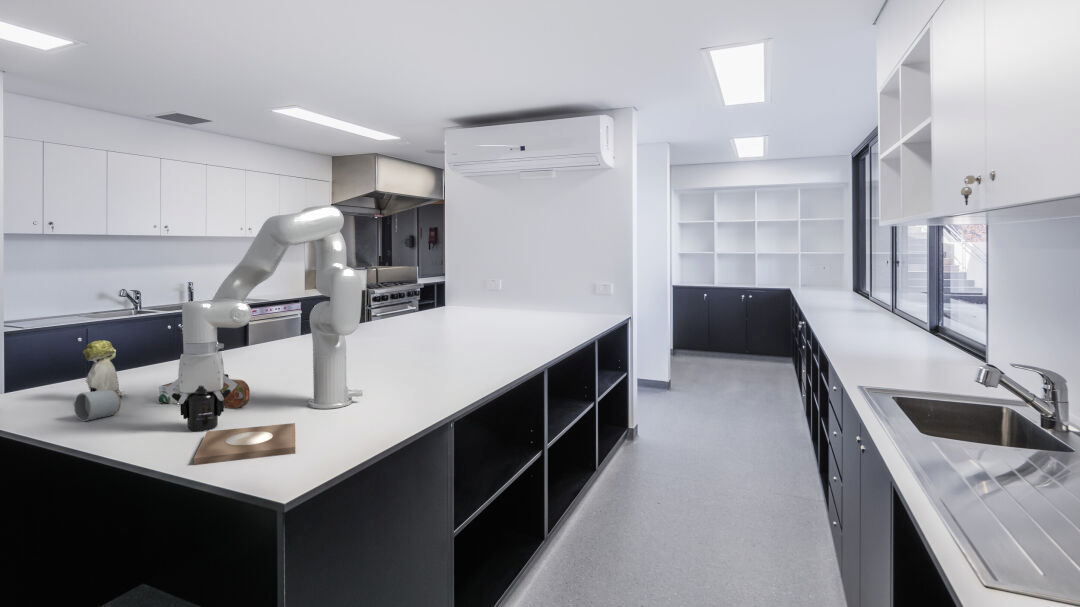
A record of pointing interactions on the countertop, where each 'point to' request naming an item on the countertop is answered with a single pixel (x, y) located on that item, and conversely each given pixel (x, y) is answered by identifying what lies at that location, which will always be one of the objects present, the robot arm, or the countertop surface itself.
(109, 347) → the beige figurine with hat
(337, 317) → the robot arm
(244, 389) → the tin
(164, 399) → the juice carton
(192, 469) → the countertop surface
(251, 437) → the walnut board
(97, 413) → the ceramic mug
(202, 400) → the supplement bottle
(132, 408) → the countertop surface
